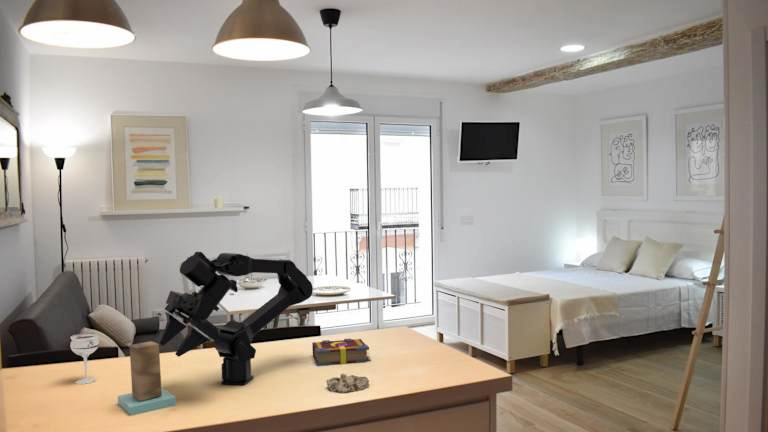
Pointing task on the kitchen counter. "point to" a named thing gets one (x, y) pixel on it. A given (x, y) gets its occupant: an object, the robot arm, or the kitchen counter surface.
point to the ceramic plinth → (146, 403)
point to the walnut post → (145, 370)
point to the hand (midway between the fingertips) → (168, 350)
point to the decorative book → (339, 352)
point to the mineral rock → (347, 383)
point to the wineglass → (84, 350)
